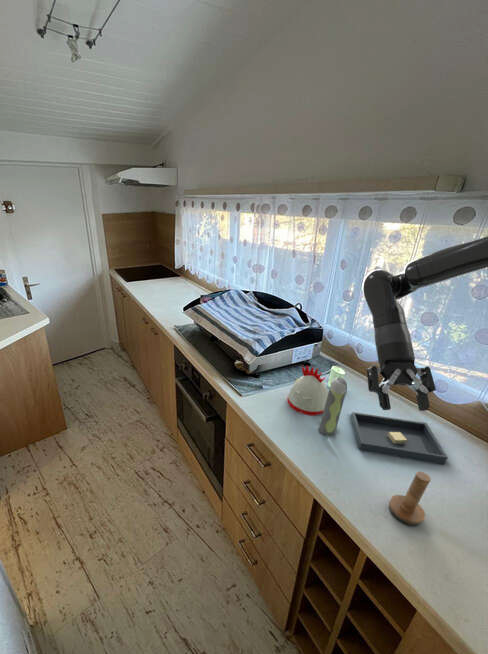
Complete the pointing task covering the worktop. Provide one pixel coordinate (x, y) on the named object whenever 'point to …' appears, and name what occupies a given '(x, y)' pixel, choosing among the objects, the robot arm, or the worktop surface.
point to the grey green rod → (333, 407)
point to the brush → (410, 502)
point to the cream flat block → (397, 438)
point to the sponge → (241, 366)
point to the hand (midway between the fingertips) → (405, 410)
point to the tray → (375, 439)
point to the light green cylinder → (335, 374)
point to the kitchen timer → (308, 393)
